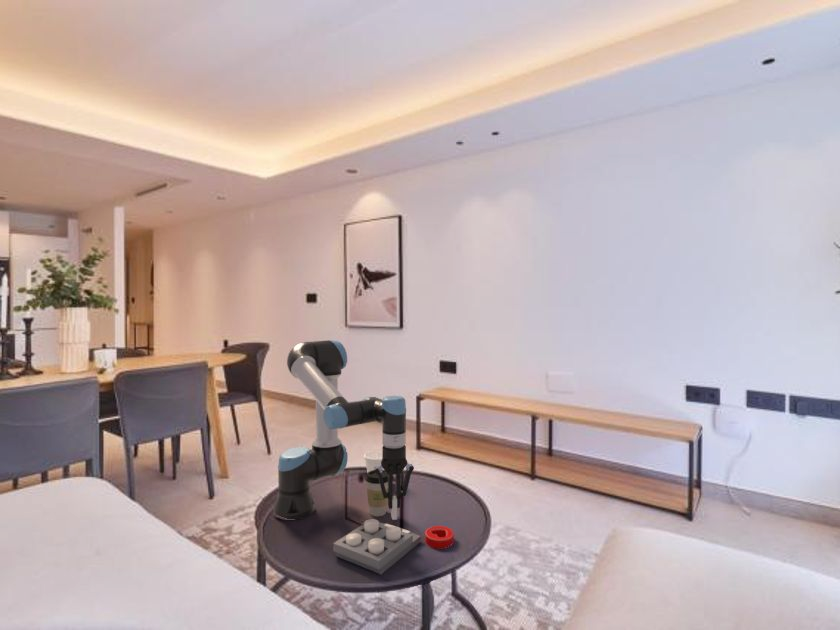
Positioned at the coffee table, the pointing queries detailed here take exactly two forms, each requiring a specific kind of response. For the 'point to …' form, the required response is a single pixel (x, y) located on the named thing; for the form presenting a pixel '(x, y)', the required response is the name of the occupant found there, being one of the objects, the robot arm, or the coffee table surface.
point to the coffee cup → (376, 493)
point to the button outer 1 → (376, 546)
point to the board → (374, 562)
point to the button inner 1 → (353, 539)
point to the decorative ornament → (439, 537)
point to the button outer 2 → (393, 534)
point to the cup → (373, 459)
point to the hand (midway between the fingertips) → (394, 517)
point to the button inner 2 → (371, 526)
